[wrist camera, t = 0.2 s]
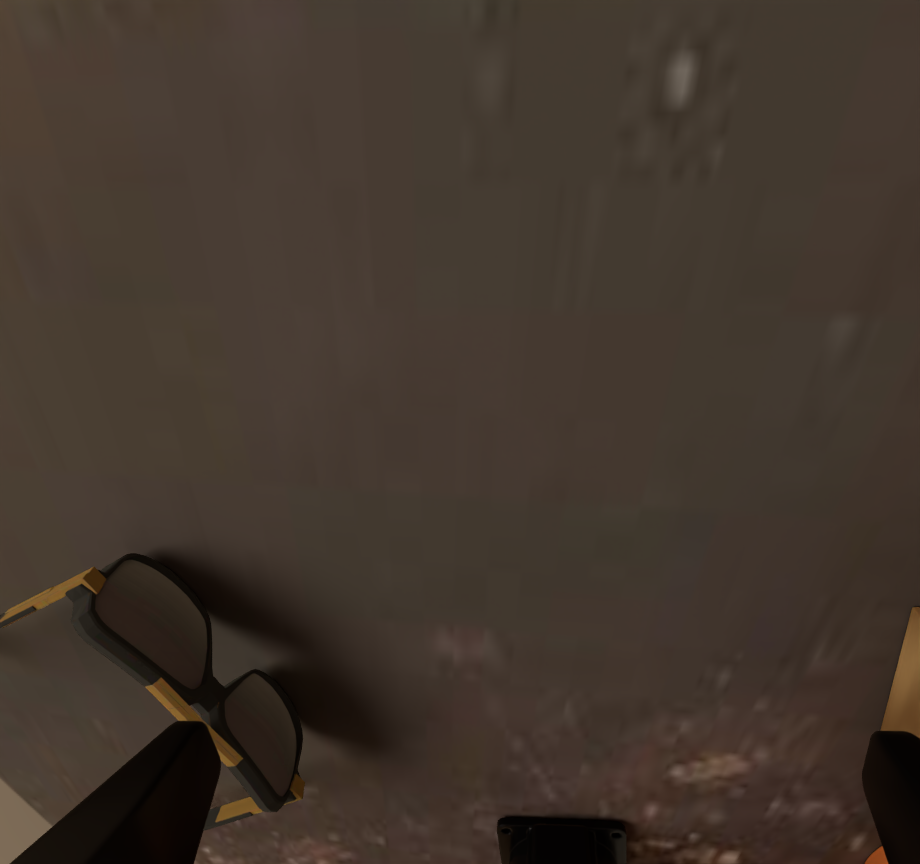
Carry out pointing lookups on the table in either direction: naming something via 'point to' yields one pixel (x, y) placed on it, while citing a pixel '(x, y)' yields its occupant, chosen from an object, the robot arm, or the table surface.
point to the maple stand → (906, 683)
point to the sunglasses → (186, 674)
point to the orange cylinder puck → (877, 857)
